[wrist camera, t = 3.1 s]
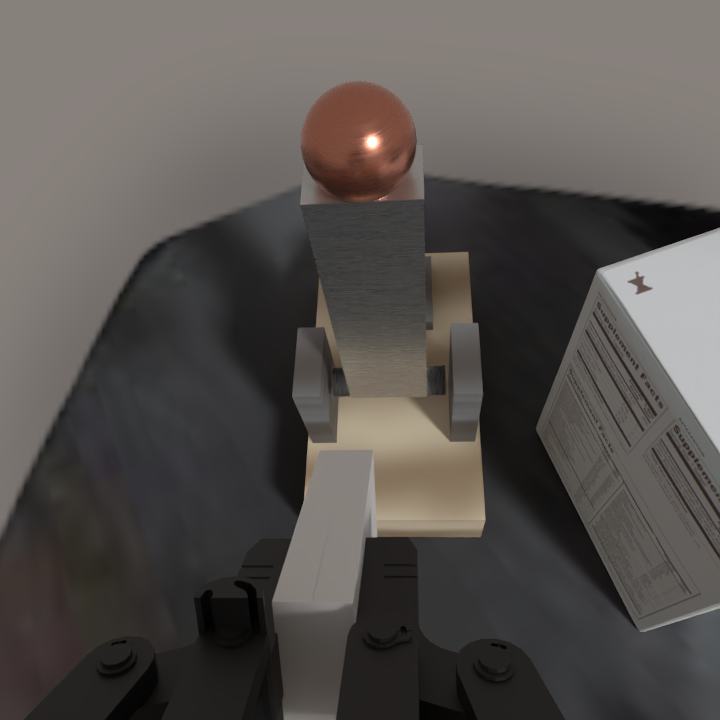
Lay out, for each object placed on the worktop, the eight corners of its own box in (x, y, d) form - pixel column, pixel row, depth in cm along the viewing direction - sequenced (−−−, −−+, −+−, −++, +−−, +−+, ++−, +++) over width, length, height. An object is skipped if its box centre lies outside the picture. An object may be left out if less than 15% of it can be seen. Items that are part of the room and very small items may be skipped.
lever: (446, 416, 34) (461, 135, 17) (334, 418, 35) (243, 147, 18) (442, 331, 37) (453, 11, 20) (338, 334, 38) (262, 25, 21)
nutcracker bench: (480, 537, 38) (496, 483, 29) (314, 536, 39) (278, 484, 30) (465, 285, 47) (473, 183, 38) (328, 290, 48) (304, 191, 39)
